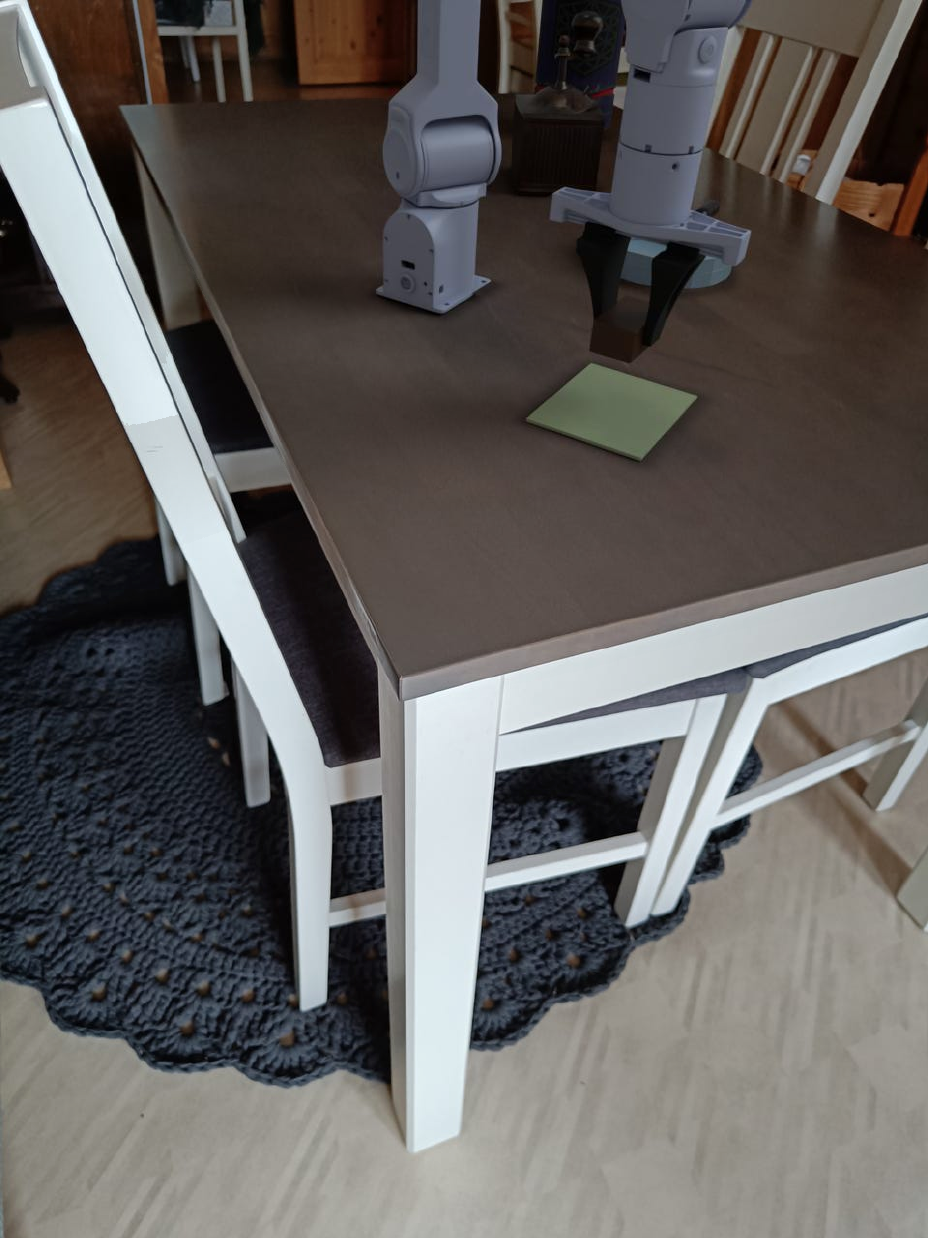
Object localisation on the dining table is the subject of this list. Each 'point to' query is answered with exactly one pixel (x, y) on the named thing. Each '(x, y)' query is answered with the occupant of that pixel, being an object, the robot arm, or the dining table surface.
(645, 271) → the pan
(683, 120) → the robot arm
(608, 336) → the chocolate
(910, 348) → the dining table surface
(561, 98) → the vintage coffee grinder
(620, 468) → the dining table surface
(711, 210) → the pan handle
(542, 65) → the dark blue tall block
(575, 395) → the cloth
